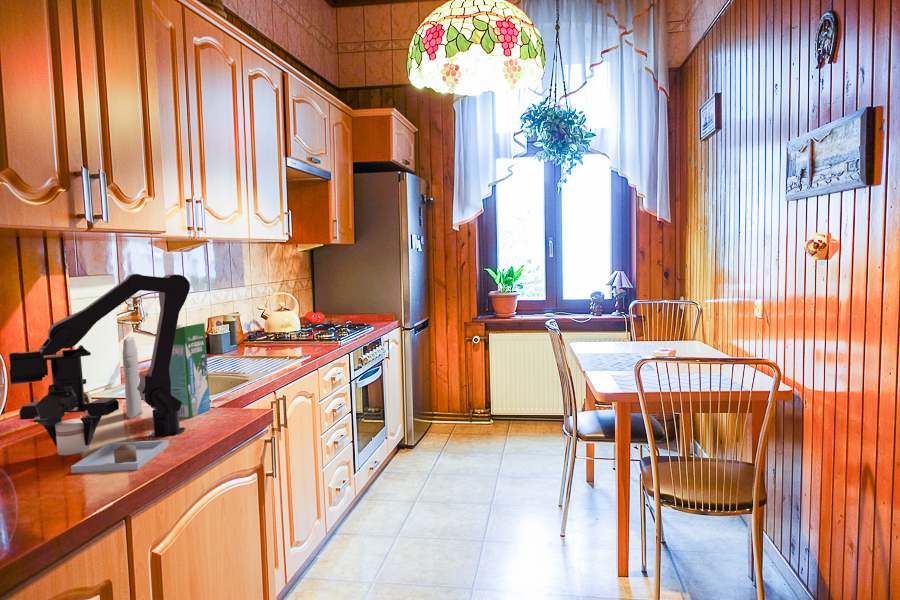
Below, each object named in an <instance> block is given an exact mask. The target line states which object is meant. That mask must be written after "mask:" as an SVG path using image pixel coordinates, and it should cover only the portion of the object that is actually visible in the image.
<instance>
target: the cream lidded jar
mask: <svg viewBox="0 0 900 600" xmlns="http://www.w3.org/2000/svg"><path fill="white" fill-rule="evenodd" d="M55 429H56V430H55V432H56V440H57V447H56V450H57V455H58V456H70V455H71V456H72V455H76V454H81V453H84V452H86V451H88V450H89V449H90V445H88V446H86V445H85V440H84V424H83V422H82V421H81V419H80V418H72V419H71V418H70V419H65V420H62V421H61V422H58V423H56V424H55Z"/></svg>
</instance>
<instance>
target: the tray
mask: <svg viewBox="0 0 900 600" xmlns="http://www.w3.org/2000/svg"><path fill="white" fill-rule="evenodd" d="M124 444H129V445H134V446H136V456H137V461H136V462H124V463H115V459H114V449H116V448H118V447H120V446H121V445H124ZM169 446H170V441H169V439H163V440H160V439H159V440H141V441H123V442H121V441H119V442H108V444H106V445H104V446H102V447H101V448H99V449H97V450H95V451H94V452H93V453H91V454H89V455H87V456H86V457H84V458H82V459H80V460H79V461H78V462H76V463H75V464H73V465H71V466H70V471H71V474H81V473H84V474H85V473H97V472H98V473H100V472H117V471H135V470H136V471H137V470H140V469H141V468H142V467H143V466H145V465H146V464H147V463H149V462H150V461H151V460H152V459H154V458H155V457H157V456H158V455H159V454H160V453H161V452H163V451H164V450H166V449H167V448H168V447H169Z"/></svg>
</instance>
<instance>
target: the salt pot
mask: <svg viewBox="0 0 900 600" xmlns="http://www.w3.org/2000/svg"><path fill="white" fill-rule="evenodd" d="M114 459H115V463H124V462H136V461H137V456H136V446H134V445H129V444H124V445H121V446H120V447H118V448H116V449H114Z"/></svg>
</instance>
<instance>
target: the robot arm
mask: <svg viewBox="0 0 900 600" xmlns="http://www.w3.org/2000/svg"><path fill="white" fill-rule="evenodd" d="M190 289H191V283H190V281H189V280H188V278H187V277H186V276H184V275H181V274H167V275H164V276H163V277H162V276H161V277H160V276H151V275H142V274H139V273H131V274H129V275H127V276H126V277H125V279H124V280H122V281H121V282H120V283H118V284H116V285H115V286H114V287H113V288H111V289H109V290H108V291H107V292H105V293H104V294H102V295H101V296H100V297H98V298H97V299H96V300H94V301H93V302H92V303H90V304H89V305H88V306H86V307H84V308H83V309H81V310H79V311H77V312H74V313H73V314H70V315H69V316H66V317H64V318H62V319H60V320H58V321H55V322H54V323H53V324H52V325H50V326H49V327H48V330H47V339H46V340H45V341H44V342H43V344H42V345H40V348H39V349H38V350H33V351H24V352H23V351H22V352H21V351H19V352H18V351H16V352H15V351H14V352H13V351H12V352H9V353H8V356H9V366H8V370H9V371H8V372H9V381H10V386H12V385H22V384H28V383H38V382H43V378H46V376H49V367H48V361H50V368H51V369H50V371H51V372H50V373H51V383H52V384H49V385H48V388H47V389H48V391H47V395H45V396H43V397H42V398H41V399H40V400H39V401H36V400H35V401H33V402H30V403H28V404H25V405H22V406H21V407H20V409H19V411H18V414H19V415H18V416H19V420H20V421H21V420H22V421H23V420H32V421H33V423H37V424H40V425H41V426H42V427H44V429H45V430H46V432H47V433H48V435H49V437H50V438H51V440H52V442H53V444H54V445H55V447H56V448H57V440H56V432H55V430H56V429H55V424H56V423H58V422H61V421H63V420H62V418H63V417H64V416H65V414H67V413H85V416H82V417H81V418H79V419H81V421H82V422H83V424H84V440H85V445H86V446H88V445H89V446H90V445H91V442H92V439H93V437H94V434H95V432H96V429H97V427H98V424H99V422H100V421H101V419H102V417H105V416H108V415H110V414H112V413H114V412H116V411H118V410H120V404H119V401H118V400H117V398H116V397H105V398H97V399H95V400H93V401H91V402H88V400H89V399H88V396H85V392H84V391H85V390H84V385H85V384H87V379H86V378H84V377H83V365H82V357H89V356H91V354H92V352H90V351H89V350H87V349H86V348H85V347H84V346H83V345H82V344H79V346H78V347H77V348H74V349H73V347H75V346H77V344H78V343H79V342H80V341H81V340H82V339H83V338H84V337H85V336H86V335H87V333H88V332H89V331H90V330H91V329H92V328H93V327H94V326H95V324H96V323H98V322H99V321H100V320H101V319H103V318H104V317H106V316H107V315H109V314H110V313H111V312H112V311H113V310H115V309H117V308H118V307H119V306H120V305H122V304H123V303H124V302H126V301H127V300H129V299H130V298H131V297H133V296H134V295H136V293H138V292H140V291H145V292H156V293H158V301H159V302H158V303H159V308H160V310H159V315H158V322H157V329H156V333H155V339H154V344H153V349H152V354H151V361H150V366H149V368H148V370H147V372H146V373H143V372H140V373H139V386H138V387H137V390H139V391H140V397H141V400H143V401H144V403H146V404H147V405H148V406H150V408H151V409H152V411H151V412H152V424H153V425H152V427H153V432H152V433H150V434H148V436H147V437H148V438H157V437H158V438H159V437H174V436H175V437H176V436H178V435H180V434H181V433H182V432H185V430H186V427H183V426H182V427H181V426H180V418H179V413H178V411H179V410H180V407H181V404H182V402H181V401H179V400H178V399H176V398H175V397H173V396H172V395H171V380H170V372H169V367H170V361H171V356H172V350H173V344H174V339H175V333H176V328H177V325H178V323H179V322H178V320H179V315H180V312H181V310H182V308H183V307H184V305H185V303H186V301H187V299H188V295H189V292H190ZM70 348H71V349H70ZM65 349H66V350H65ZM59 351H61V353H60V354H57V353H58V352H59Z"/></svg>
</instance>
